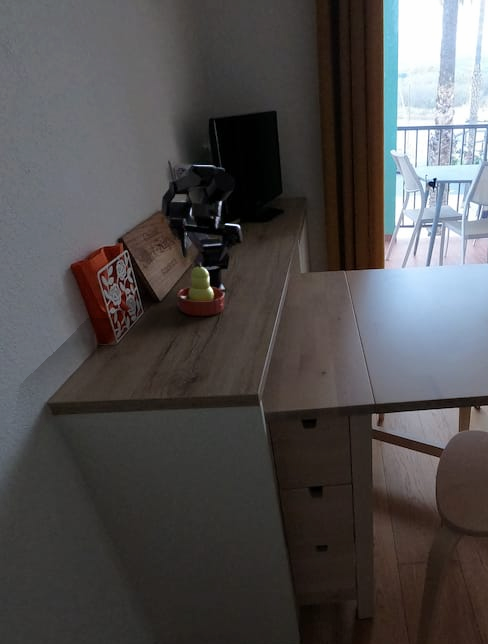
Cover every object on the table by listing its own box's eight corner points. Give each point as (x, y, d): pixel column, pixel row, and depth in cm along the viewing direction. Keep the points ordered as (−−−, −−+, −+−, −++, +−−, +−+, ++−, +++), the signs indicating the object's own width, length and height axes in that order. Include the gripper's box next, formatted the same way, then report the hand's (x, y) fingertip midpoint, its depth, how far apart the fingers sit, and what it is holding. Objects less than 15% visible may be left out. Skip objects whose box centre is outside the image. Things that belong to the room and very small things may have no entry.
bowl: (175, 301, 130) (174, 286, 128) (219, 299, 136) (218, 284, 134) (182, 319, 121) (181, 303, 119) (229, 315, 127) (228, 300, 124)
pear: (187, 302, 129) (184, 259, 123) (211, 301, 132) (209, 258, 126) (191, 312, 124) (188, 267, 118) (216, 310, 127) (214, 266, 121)
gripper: (167, 185, 120) (156, 238, 115) (239, 194, 121) (232, 246, 117) (178, 211, 130) (169, 260, 126) (245, 218, 132) (238, 267, 128)
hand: (201, 258), depth 124 cm, fingers open, 9 cm apart
